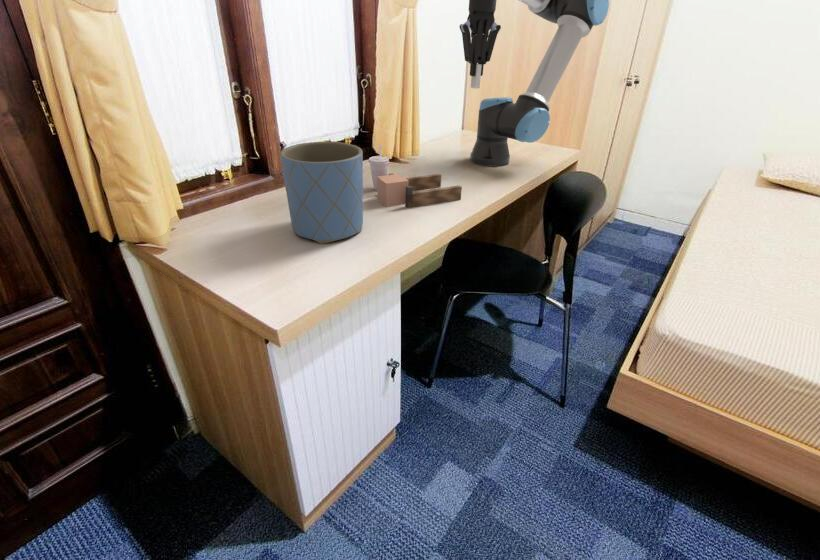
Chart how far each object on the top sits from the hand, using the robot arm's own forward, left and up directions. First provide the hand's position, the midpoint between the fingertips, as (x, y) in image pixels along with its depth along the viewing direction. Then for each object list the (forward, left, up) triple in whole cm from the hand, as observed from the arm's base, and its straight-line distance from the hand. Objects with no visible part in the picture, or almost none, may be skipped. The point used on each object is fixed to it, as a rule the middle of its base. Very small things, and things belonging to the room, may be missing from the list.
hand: (474, 87), depth 133 cm
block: (+31, +7, -30) cm, 43 cm away
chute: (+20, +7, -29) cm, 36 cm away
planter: (+54, +19, -30) cm, 65 cm away
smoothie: (+30, -5, -30) cm, 43 cm away
